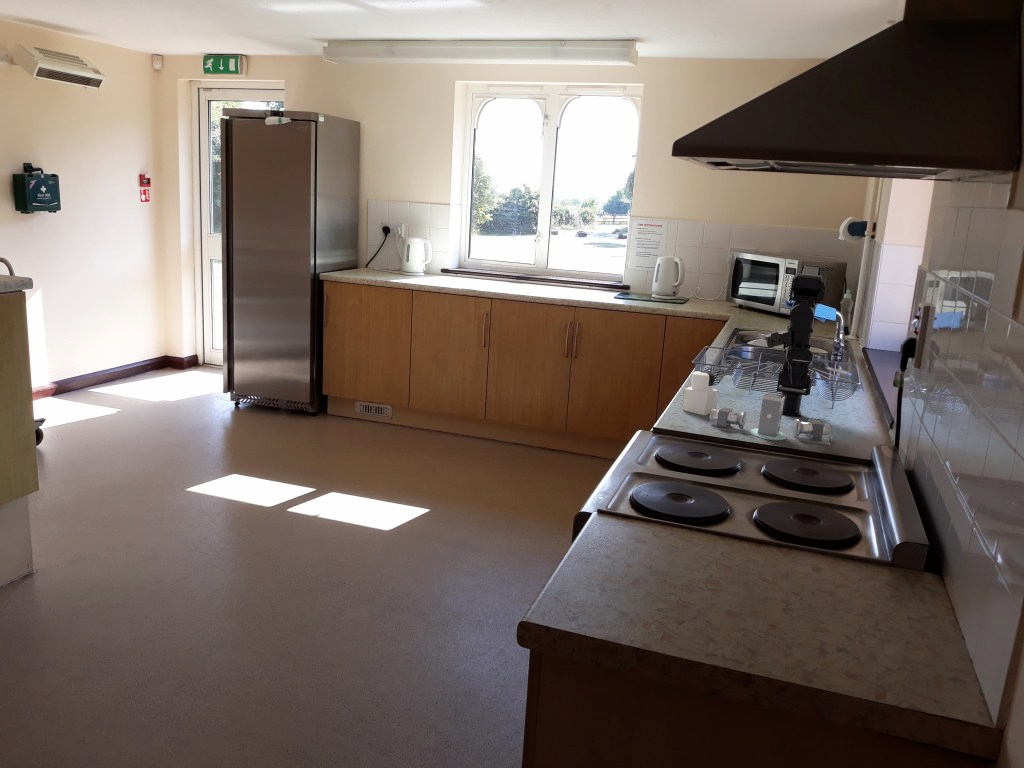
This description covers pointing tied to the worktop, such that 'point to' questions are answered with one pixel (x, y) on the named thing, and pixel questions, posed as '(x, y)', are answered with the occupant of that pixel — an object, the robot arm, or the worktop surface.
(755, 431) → the coupling board
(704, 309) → the worktop surface
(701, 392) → the medicine bottle
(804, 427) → the shaft
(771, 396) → the block
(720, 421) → the shaft
